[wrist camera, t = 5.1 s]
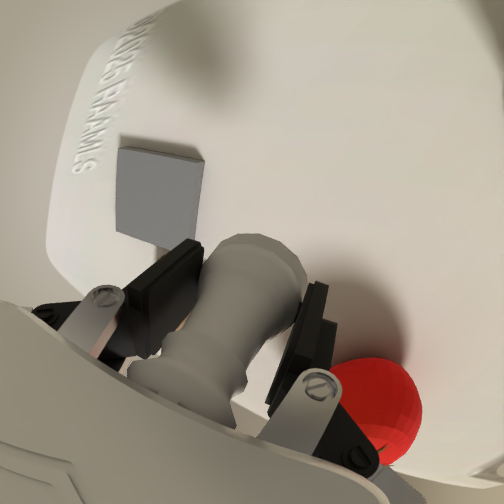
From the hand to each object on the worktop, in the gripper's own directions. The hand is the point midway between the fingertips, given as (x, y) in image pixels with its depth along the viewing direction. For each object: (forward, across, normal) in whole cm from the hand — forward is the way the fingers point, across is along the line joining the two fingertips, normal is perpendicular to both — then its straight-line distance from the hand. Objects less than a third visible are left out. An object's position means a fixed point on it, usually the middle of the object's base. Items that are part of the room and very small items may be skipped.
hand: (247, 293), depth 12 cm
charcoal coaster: (+11, +12, +2) cm, 17 cm away
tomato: (+12, -11, +15) cm, 22 cm away
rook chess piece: (+2, 0, 0) cm, 2 cm away
